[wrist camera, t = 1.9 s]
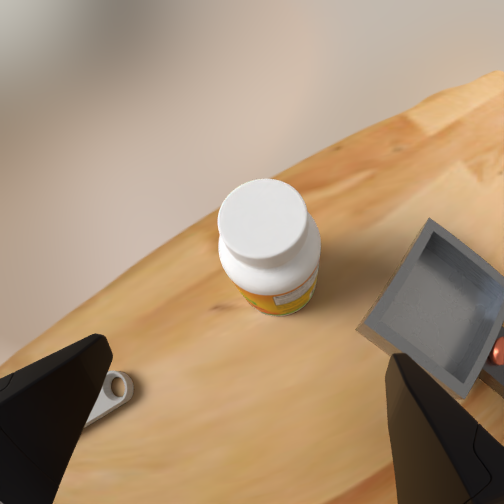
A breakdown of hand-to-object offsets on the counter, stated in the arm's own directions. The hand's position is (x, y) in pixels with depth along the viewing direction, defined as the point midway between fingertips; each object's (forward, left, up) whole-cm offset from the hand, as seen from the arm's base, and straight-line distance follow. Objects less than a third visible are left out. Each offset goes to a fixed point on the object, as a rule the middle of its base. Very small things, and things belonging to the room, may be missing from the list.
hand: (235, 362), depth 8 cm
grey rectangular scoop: (-14, -10, -12) cm, 21 cm away
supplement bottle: (+4, -5, -12) cm, 14 cm away
